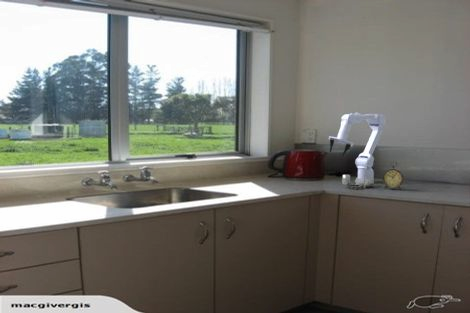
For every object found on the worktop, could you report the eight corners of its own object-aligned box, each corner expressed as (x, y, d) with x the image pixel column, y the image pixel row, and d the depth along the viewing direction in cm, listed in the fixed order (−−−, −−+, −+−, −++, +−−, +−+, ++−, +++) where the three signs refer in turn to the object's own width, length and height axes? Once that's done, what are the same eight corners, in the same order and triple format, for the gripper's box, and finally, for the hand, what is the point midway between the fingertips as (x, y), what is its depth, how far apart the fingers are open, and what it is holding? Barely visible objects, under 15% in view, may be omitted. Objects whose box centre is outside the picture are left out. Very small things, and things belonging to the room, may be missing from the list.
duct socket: (365, 185, 247) (365, 176, 247) (376, 187, 239) (376, 178, 239) (342, 187, 239) (342, 178, 239) (353, 189, 231) (353, 180, 231)
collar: (346, 184, 252) (346, 174, 251) (351, 185, 248) (351, 175, 248) (340, 184, 250) (340, 174, 249) (345, 185, 246) (346, 175, 246)
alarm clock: (381, 189, 235) (383, 160, 234) (383, 187, 240) (384, 159, 238) (402, 190, 230) (403, 161, 228) (403, 189, 235) (404, 161, 233)
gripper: (331, 127, 245) (324, 148, 243) (356, 134, 240) (348, 156, 239) (331, 130, 251) (324, 151, 250) (355, 137, 247) (348, 158, 246)
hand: (336, 154), depth 245 cm, fingers open, 7 cm apart
